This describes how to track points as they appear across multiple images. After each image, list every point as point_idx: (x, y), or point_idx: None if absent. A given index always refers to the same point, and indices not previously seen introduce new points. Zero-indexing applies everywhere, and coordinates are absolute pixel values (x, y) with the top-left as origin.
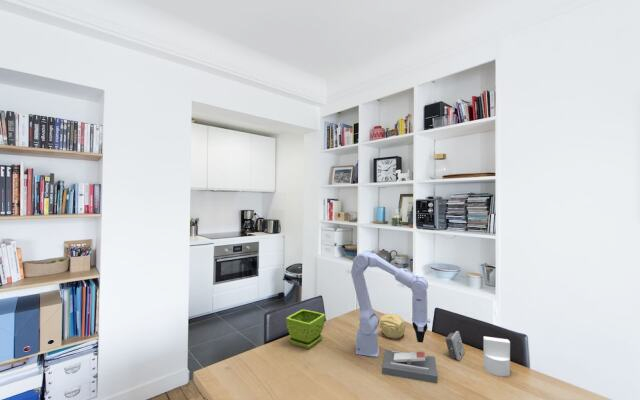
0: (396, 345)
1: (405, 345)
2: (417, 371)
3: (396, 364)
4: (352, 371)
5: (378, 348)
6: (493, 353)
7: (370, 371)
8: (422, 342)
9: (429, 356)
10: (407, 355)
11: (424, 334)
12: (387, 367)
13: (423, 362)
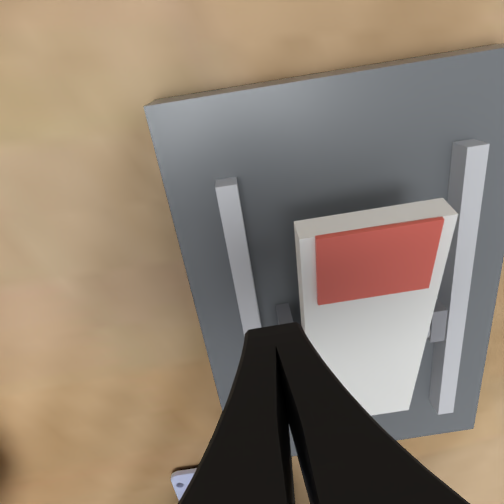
0: (53, 407)
1: (5, 360)
2: (485, 229)
3: (456, 379)
4: (461, 494)
5: (186, 477)
6: None
7: (441, 441)
8: (300, 325)
9: (167, 162)
10: (360, 354)
11: (383, 430)
12: (470, 406)
13: (317, 203)
